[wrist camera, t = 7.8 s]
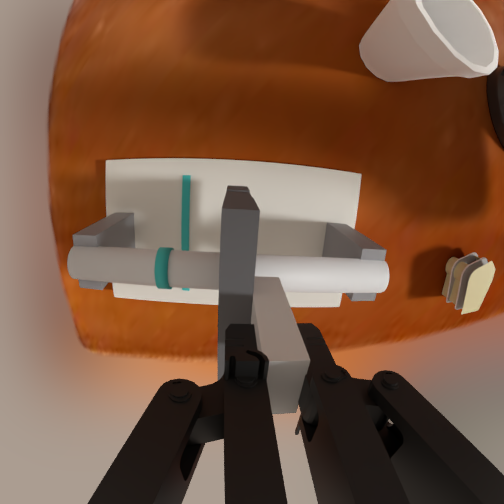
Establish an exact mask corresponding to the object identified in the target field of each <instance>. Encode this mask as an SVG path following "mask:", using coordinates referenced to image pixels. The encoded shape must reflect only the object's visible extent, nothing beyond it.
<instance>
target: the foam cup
mask: <svg viewBox="0 0 504 504" xmlns="http://www.w3.org/2000/svg"><path fill="white" fill-rule="evenodd" d="M359 50H360V57H361V59H362V60H363V62H364V64H365V66H366V67H367V69H369V70H370V71H371V72H372V73H373V74H374V75H375V76H376V77H378V78H380V79H382V80H385V81H387V82H399V81H409V80H417V79H427V78H438V77H455V76H458V77H465V78H474V77H479V76H484V75H489V74H490V73H492V72H493V71H494V70H495V69H496V68H497V66H498V48H497V44H496V40H495V37H494V34H493V31H492V29H491V27H490V25H489V23H488V22H487V20H486V18H485V16H484V15H483V13H482V11H481V10H480V8H479V7H478V6H477V5H476V4H475V3H474V1H473V0H390V1H389V2H388V4H387V5H386V6H385V8H384V9H383V10H382V12H381V13H380V14H379V16H378V17H377V18H376V20H375V21H374V22H373V24H372V25H371V26H370V28H369V29H368V30H367V32H366V33H365V34H364V36H363V37H362V40H361V42H360V44H359Z"/></svg>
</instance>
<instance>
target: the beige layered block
mask: <svg viewBox="0 0 504 504" xmlns="http://www.w3.org/2000/svg"><path fill="white" fill-rule="evenodd" d="M494 272H495V267H494V264H493V262H492V261H491V262H489V263H488V261H487V259H486V258H485V257H483V258H479V257H478V255H477V253H476V252H473V253H471V254H469V255H466V256H464V257H462V258H460V259H458V258H456V257H451V258H450V259H449V260H448V262H447V264H446V273H447V275H446V279H445V283H444V287H443V291H442V295H444V296H445V297H446V302H447V303H448V302H453V303H454V304H455V309H456V310H457V309H462V308H463V309H462V313H461V314H465V313H469V312H474V311H478V309H479V308H480V305H481V303H482V301H483V299H484V297H485V295H486V293H487V291H488V289H489V286H490V284H491V282H492V279H493V276H494Z"/></svg>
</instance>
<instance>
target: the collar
mask: <svg viewBox="0 0 504 504" xmlns="http://www.w3.org/2000/svg"><path fill="white" fill-rule="evenodd" d="M259 217H260V209H259V208H258V206H257V204H256V202H255V200H254V198H253V197H252V196H251V194H250V190H249V189H248V187H247V186H231V185H228V186H227V191H226V195H225V198H224V201H223V205H222V213H221V235H220V262H219V298H218V380H219V379H220V378H221V377H222V376H223V374H224V366H225V330H226V329H227V327H228V326H229V325H230V323H231V324H251V315H252V303H253V292H254V279H255V267H256V255H257V242H258V230H259Z"/></svg>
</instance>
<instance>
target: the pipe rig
mask: <svg viewBox="0 0 504 504" xmlns="http://www.w3.org/2000/svg"><path fill="white" fill-rule="evenodd" d="M361 175H362V174H359V173H353V172H346V171H339V170H332V169H325V168H317V167H309V166H301V165H291V164H281V163H270V162H258V161H243V160H225V159H194V158H150V159H121V160H106V217H105V218H103V219H101V220H99V221H98V222H96V223H94V224H92V225H90V226H88V227H86V228H84V229H82V230H81V231H79V232H77V233H75V234H73V244H74V246H73V247H72V248H71V250H70V252H69V255H68V261H67V266H68V271H69V274H70V276H71V277H72V278H73V279H79V285H80V287H81V288H90V289H99V290H103V288H104V287H105V286H106V285H107V284H108V283H109V282H112V284H113V291H114V297H119V298H129V299H140V300H151V301H164V302H178V303H193V304H210V305H218V298H219V262H220V235H221V213H222V205H223V201H224V198H225V195H226V191H227V186H228V185H231V186H247V187H248V189H249V190H250V194H251V196H252V197H253V198H254V200H255V202H256V204H257V206H258V208H259V209H260V217H259V230H258V242H257V255H256V267H255V276H258V277H279V279H280V281H281V284H282V287H283V289H284V292H285V294H286V297H287V300H288V302H289V305H290V307H339V306H340V301H341V297H342V293H346V295H347V296H348V297H349V298H350V300H351V301H375V297H376V293H382V292H384V291H385V289H386V288H387V286H388V282H389V268H388V265H387V263H386V262H385V261H384V260H385V255H386V249H384V248H383V247H381V246H380V245H378V244H377V243H375V242H374V241H372V240H370V239H369V238H367V237H366V236H364V235H363V234H361V233H359V232H358V231H356V230H355V229H354V228H355V222H356V215H357V208H358V200H359V192H360V184H361Z"/></svg>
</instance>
